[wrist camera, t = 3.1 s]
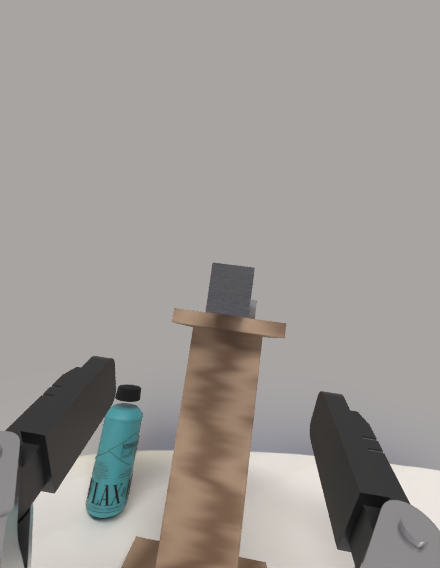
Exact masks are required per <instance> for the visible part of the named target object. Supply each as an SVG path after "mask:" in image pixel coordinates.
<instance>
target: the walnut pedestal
mask: <svg viewBox="0 0 440 568" xmlns="http://www.w3.org/2000/svg"><path fill="white" fill-rule="evenodd" d="M256 303H257V301H256V300H251V301H250V309H249V317H246V318H242V317H235V316H227V315H220V314H214V313H210V312H198V311H191V310H184V309H176V308H175V309H174V314H173V319H172V322H174V323H178V324H182V325H187V326H191V327H193V333H192V339H191V346H190V351H189V358H188V364H187V371H186V377H185V384H184V389H183V396H182V403H181V409H180V416H179V421H178V428H177V434H176V441H175V447H174V453H173V459H172V466H171V472H170V478H169V485H168V491H167V497H166V504H165V510H164V516H163V523H162V529H161V536H160V541H156V540H151V539H146V538H141V537H136V538H135V540H134V542H133V544H132V547H131V549H130V551H129V553H128V555H127V557H126V559H125V561H124V563H123V565H122V568H267V566H266V562H261V561H256V560H251V559H246V558H241V557H239V548H240V539H241V530H242V521H243V511H244V502H245V493H246V484H247V475H248V465H249V456H250V447H251V446H250V445H251V437H252V428H253V420H254V410H255V400H256V391H257V382H258V374H259V364H260V355H261V345H262V337H269V338H270V337H271V338H285V329H286V324H285V323H278V322H270V321H263V320H256V319H255V310H256Z"/></svg>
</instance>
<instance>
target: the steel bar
mask: <svg viewBox="0 0 440 568" xmlns="http://www.w3.org/2000/svg"><path fill="white" fill-rule="evenodd" d="M253 277H254V268H252V267H243V266H236V265H227V264H220V263H213V264H212V271H211V279H210V286H209V292H208V299H207V306H206V312H210V313H214V314H220V315H227V316H235V317H242V318H246V317H249V309H250V301H251V292H252V285H253Z"/></svg>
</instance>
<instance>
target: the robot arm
mask: <svg viewBox="0 0 440 568" xmlns="http://www.w3.org/2000/svg"><path fill="white" fill-rule="evenodd" d="M115 393H116V381H115V362H114V359H111V358H104V357H98V356H93V357H91V358H90V360H88V362H86V363H85V364H84V365H83V366H82V368H80V367H76V368H74V369H72V370H70V371H69V372H67V373H65V374H63V375H62V376H61V377H60V378H59V379H58V380H57V381H56V382H55V383H54V384H53V385H52V387H50V388H49V389H48V390H47V391H46V392H45V393H44V394H43V396H40V397H39V398H38V399H37V400H36V401H35V402H34V403H33V404H32V405H31V406H30V407H29V408H28V409H27V410H26V411H25V412H24V413H23V414H22V415H21V416H20V417H19V418H18V419H17V420H16V421H15V422H14V423H13V424H12V425H11V426H10V427H9V428H7V430H6V431H0V568H31V552H32V527H33V502H34V500H35V499H36V497H37V496H38V495H39V493H40V492H41V491H44V492H49V493H54V494H55V492H56V490H57V489H58V487H59V486H60V484H61V483H62V481H63V480H64V478H65V477H66V475H67V474H68V472H69V470H70V469H71V467H72V466H73V464H74V463H75V461H76V460H77V458H78V457H79V455H80V454H81V452H82V450H83V449H84V447H85V446H86V444H87V443H88V441H89V440H90V438H91V436H92V435H93V434H94V432H95V430H96V429H97V427H98V426H99V424H100V423H101V421H102V420H103V418H104V417H105V415H106V414H107V412H108V410H109V409H110V407H111V405H112V403H113V401H114V398H115ZM310 439H311V444H312V448H313V452H314V456H315V460H316V464H317V468H318V472H319V477H320V481H321V485H322V489H323V493H324V497H325V501H326V505H327V509H328V513H329V517H330V522H331V526H332V530H333V534H334V538H335V542H336V546H337V549H338V550H343V551H348V552H351V553H352V556H353V560H354V563H355V567H354V568H440V531H439V529H438V528H437V527H436V525H435V524H434V523H433V522H432V521H431V520H430V519H429V518H428V517H427V516H426V515H425V514H424V513H422V512H421V511H420V510H418V509H417V508H415V507H414V506H412V505H411V504H410V503H409V501H408V499H407V497H406V495H405V493H404V491H403V489H402V487H401V485H400V483H399V481H398V479H397V477H396V476H395V474H394V472H393V470H392V468H391V466H390V464H389V462H388V460H387V458H386V456H385V454H383V450H382V448H381V446H380V444H379V442H378V441H376V437H375V435H374V433H373V431H372V429H371V427H370V425H369V424H368V423H367V422H366V420H365V419H364V418H362V416H361V415H360V414H359V413H358V412H356V411H350V409H349V407H348V405H347V403H346V400H345V398H344V396H343V395H341V394H336V393H329V392H322V391H321V392H320V393H319V395H318V398H317V401H316V405H315V409H314V412H313V416H312V419H311V423H310Z"/></svg>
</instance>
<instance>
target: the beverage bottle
mask: <svg viewBox="0 0 440 568" xmlns="http://www.w3.org/2000/svg"><path fill="white" fill-rule="evenodd" d="M140 393H141V388H140V387H139V386H135V385H120V386H119V387H118V390H117V393H116V397H115V398H116V399H117V400H120V401H126V402H134V401H139V400H140ZM142 417H143V413H142V412H141V410H140V409H139V408H138V406H136V405H133V404H127V403H121V404H116V405H114V406H112V407H111V408H110V409H109V410H108V412H107V414H106V415H105V420H104V424H103V429H102V434H101V438H100V443H99V448H98V452H97V456H96V458H95V459H96V461H95V463H94V464H95V465H93V466H94V467H93V468H94V469H93V472H92V474H93V475H92V477H91V481H90V482H91V483H90V488H89V493H88V497H87V503H86V508H87V511H88V513H89V514H91V515H92V516H95V517H100V518H105V517H111V516H114V515H116V514H118V513H120V512H121V511H122V510H123V509H124V507H125V505H126V502H127V497H128V495H129V494H128V491H129V490H130V486H131V485H130V484H131V481H130V480H131V479H132V477H131V475H132V474H133V473H132V472H133V471H132V470H133V464H134V459H135V454H136V453H137V452H136V448H137V444H138V437H139V431H140V426H141V421H142Z"/></svg>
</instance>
